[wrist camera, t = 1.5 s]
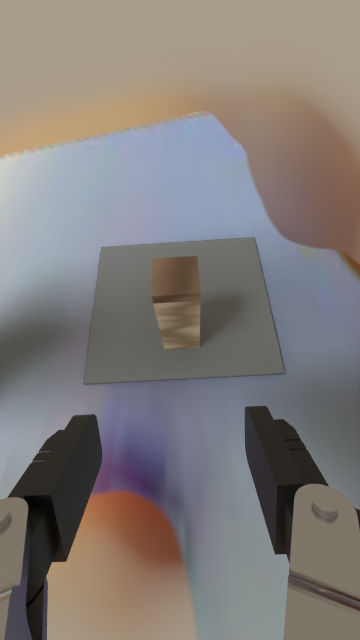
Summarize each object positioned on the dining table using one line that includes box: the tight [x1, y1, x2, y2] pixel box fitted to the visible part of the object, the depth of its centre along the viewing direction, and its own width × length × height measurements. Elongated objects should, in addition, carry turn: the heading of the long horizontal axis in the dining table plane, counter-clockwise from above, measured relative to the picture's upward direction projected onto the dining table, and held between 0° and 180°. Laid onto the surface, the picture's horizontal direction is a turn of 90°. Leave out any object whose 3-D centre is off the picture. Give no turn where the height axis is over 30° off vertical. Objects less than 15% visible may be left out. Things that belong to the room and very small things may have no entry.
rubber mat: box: [84, 237, 285, 385], centre depth 40 cm, size 24×22×1 cm
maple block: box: [152, 256, 201, 350], centre depth 32 cm, size 4×4×12 cm
